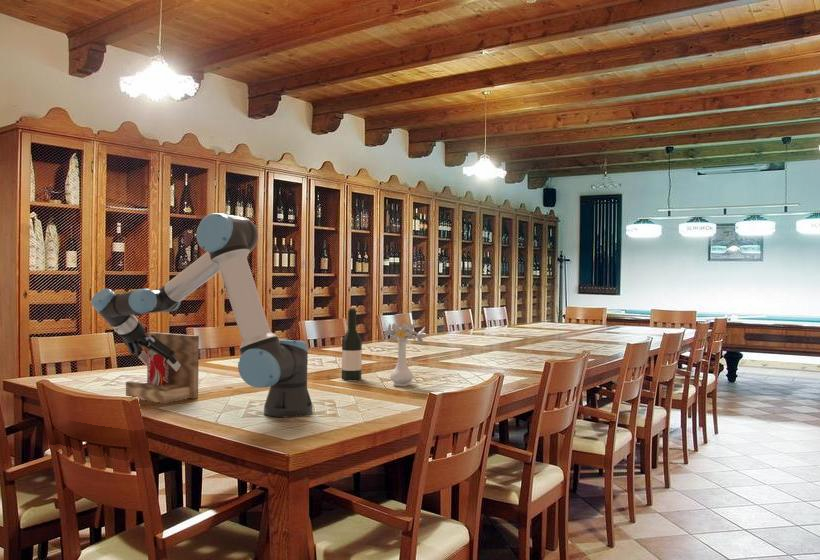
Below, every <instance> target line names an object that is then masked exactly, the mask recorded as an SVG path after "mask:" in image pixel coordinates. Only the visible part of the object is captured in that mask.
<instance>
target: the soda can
mask: <svg viewBox="0 0 820 560" xmlns="http://www.w3.org/2000/svg"><path fill="white" fill-rule="evenodd" d="M165 359H166V358H164V357H162V356H161V355H159V354H157V353H156V352H150V355H149V356H148V361H147V366H146V368H147V369H146V371H147V372H146V375H147V376H146V383H147V382H148V384H153V385H161V386H166V385H167V384H168V381H169V364H168V363H167V361H165Z"/></svg>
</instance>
